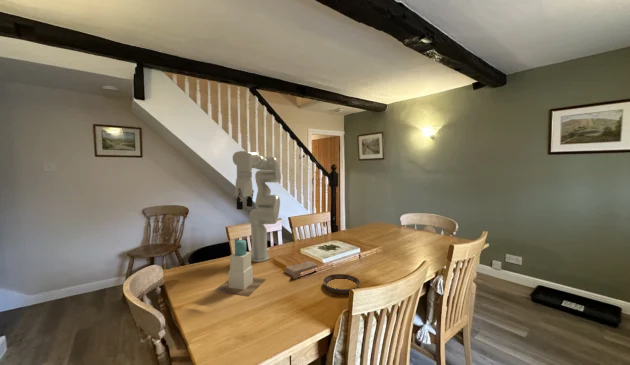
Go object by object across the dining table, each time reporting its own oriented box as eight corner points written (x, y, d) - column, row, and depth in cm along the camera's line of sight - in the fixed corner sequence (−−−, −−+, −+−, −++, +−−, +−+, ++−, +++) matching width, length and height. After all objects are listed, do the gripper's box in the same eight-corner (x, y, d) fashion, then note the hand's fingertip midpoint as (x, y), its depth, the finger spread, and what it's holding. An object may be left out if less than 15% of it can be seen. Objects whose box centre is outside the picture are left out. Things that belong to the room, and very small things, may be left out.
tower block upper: (238, 265, 126) (238, 251, 126) (251, 266, 125) (250, 252, 124) (230, 270, 120) (229, 255, 119) (243, 272, 118) (243, 257, 117)
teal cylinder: (238, 251, 125) (238, 239, 125) (248, 252, 124) (248, 240, 123) (232, 255, 120) (232, 242, 120) (242, 256, 119) (242, 243, 118)
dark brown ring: (337, 276, 137) (337, 270, 137) (366, 286, 125) (366, 279, 125) (315, 288, 123) (315, 281, 123) (347, 300, 112) (347, 293, 112)
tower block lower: (238, 280, 128) (238, 264, 127) (252, 282, 125) (252, 266, 125) (228, 287, 120) (228, 270, 119) (244, 289, 118) (243, 272, 117)
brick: (308, 267, 149) (308, 259, 148) (318, 271, 142) (318, 263, 142) (284, 275, 138) (284, 266, 138) (293, 280, 132) (293, 271, 131)
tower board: (235, 277, 134) (235, 275, 134) (266, 281, 129) (266, 279, 129) (212, 294, 116) (212, 291, 116) (248, 299, 112) (248, 296, 112)
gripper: (246, 174, 143) (246, 205, 144) (228, 175, 126) (228, 210, 127) (258, 174, 141) (259, 205, 142) (241, 175, 124) (242, 210, 125)
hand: (244, 207), depth 134 cm, fingers open, 9 cm apart
